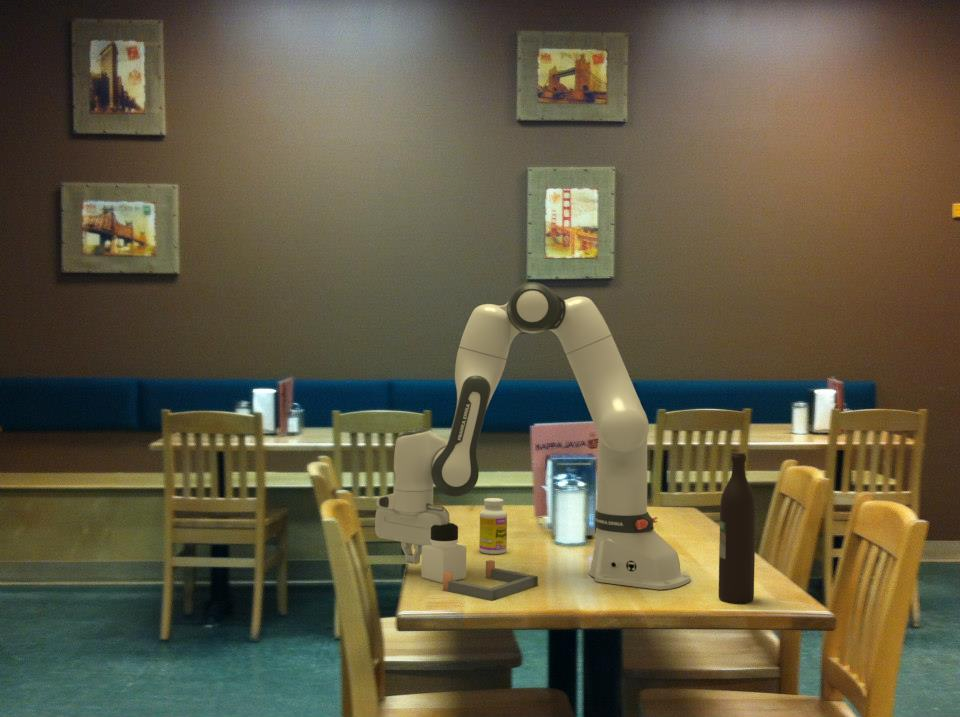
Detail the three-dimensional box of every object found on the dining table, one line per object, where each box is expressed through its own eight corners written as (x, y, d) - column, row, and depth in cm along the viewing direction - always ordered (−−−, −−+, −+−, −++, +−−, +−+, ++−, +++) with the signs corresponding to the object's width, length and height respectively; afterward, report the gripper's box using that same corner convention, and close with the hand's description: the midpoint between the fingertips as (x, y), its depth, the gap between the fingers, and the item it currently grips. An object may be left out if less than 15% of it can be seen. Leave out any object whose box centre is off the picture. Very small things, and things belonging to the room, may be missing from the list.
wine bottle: (733, 593, 226) (736, 450, 225) (761, 600, 220) (764, 454, 219) (711, 598, 222) (713, 452, 221) (738, 605, 216) (741, 456, 215)
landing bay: (538, 585, 231) (538, 569, 231) (491, 600, 218) (491, 583, 218) (489, 575, 239) (489, 559, 239) (441, 590, 226) (441, 573, 226)
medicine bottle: (466, 578, 237) (467, 524, 236) (442, 583, 232) (443, 528, 231) (444, 572, 242) (445, 519, 241) (420, 577, 237) (421, 523, 236)
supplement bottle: (495, 556, 259) (496, 502, 259) (473, 552, 263) (474, 499, 263) (512, 551, 264) (512, 499, 264) (490, 547, 268) (490, 496, 268)
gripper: (458, 505, 238) (457, 567, 238) (390, 494, 251) (389, 553, 251) (439, 508, 233) (438, 572, 233) (370, 497, 246) (370, 558, 246)
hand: (412, 562), depth 242 cm, fingers closed
